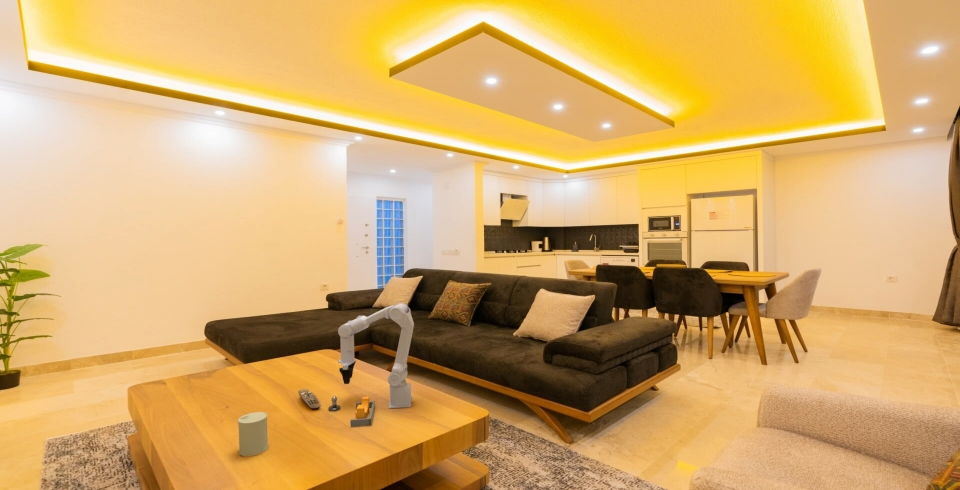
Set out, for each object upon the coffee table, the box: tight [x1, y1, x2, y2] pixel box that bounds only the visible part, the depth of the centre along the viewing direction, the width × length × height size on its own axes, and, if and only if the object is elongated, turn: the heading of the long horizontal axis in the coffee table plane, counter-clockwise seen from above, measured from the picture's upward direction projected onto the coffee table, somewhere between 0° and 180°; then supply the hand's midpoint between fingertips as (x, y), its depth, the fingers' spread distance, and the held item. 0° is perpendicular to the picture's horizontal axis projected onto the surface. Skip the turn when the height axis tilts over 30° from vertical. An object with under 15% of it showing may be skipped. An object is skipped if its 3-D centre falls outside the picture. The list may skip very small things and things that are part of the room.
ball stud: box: [327, 395, 341, 412], centre depth 187 cm, size 5×5×6 cm
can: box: [237, 411, 269, 457], centre depth 153 cm, size 9×9×12 cm
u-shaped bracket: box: [349, 401, 376, 428], centre depth 179 cm, size 8×18×3 cm, turn 9°
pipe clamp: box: [354, 396, 370, 419], centre depth 178 cm, size 12×4×6 cm, turn 4°
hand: (348, 380), depth 193 cm, fingers open, 7 cm apart
